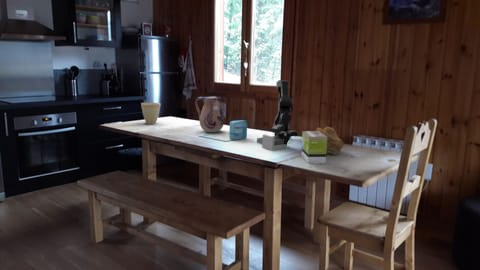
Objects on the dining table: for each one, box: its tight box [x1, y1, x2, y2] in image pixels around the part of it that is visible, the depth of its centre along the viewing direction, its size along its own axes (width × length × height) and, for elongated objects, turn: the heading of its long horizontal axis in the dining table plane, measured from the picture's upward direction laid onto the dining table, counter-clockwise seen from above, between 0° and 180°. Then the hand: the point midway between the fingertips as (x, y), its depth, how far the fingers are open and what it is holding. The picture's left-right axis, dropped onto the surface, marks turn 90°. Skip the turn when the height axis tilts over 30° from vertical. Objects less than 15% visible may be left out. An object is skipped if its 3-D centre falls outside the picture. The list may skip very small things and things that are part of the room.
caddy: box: [274, 139, 288, 148], centre depth 234 cm, size 13×4×5 cm, turn 125°
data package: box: [228, 119, 248, 141], centre depth 255 cm, size 12×4×12 cm, turn 133°
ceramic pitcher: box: [194, 96, 225, 133], centre depth 277 cm, size 18×21×25 cm
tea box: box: [301, 130, 327, 164], centre depth 206 cm, size 15×10×15 cm, turn 5°
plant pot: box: [141, 102, 161, 125], centre depth 304 cm, size 15×15×16 cm
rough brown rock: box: [315, 126, 344, 156], centre depth 223 cm, size 23×17×15 cm
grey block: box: [261, 134, 287, 152], centre depth 232 cm, size 12×9×8 cm
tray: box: [256, 135, 279, 145], centre depth 248 cm, size 18×10×3 cm, turn 125°
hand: (283, 145), depth 236 cm, fingers open, 3 cm apart
